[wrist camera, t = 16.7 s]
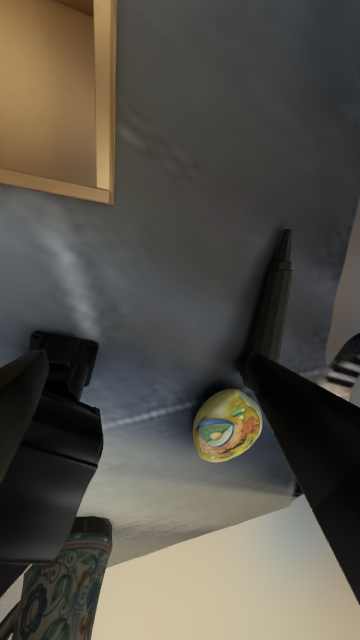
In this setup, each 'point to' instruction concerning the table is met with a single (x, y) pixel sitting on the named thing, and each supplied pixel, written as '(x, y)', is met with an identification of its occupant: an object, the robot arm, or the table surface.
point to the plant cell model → (226, 425)
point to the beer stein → (63, 588)
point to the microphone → (272, 308)
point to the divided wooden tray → (58, 97)
